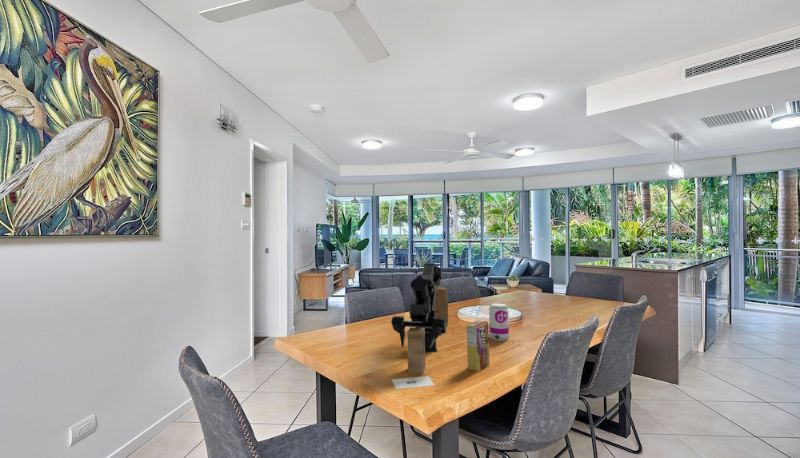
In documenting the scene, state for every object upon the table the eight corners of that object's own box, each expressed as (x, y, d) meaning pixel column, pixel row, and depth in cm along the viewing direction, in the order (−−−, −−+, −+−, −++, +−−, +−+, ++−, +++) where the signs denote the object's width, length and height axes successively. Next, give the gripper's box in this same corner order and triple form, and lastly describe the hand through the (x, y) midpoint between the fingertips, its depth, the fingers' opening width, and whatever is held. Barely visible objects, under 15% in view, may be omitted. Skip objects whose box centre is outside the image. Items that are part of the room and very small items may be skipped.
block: (449, 329, 169) (449, 288, 170) (435, 330, 168) (434, 289, 168) (441, 324, 180) (440, 285, 180) (427, 325, 178) (427, 286, 178)
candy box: (478, 362, 125) (478, 319, 125) (489, 364, 122) (489, 321, 123) (466, 369, 118) (466, 324, 119) (478, 372, 116) (477, 326, 116)
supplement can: (511, 341, 149) (510, 306, 150) (492, 341, 149) (491, 306, 150) (505, 336, 157) (505, 302, 158) (487, 336, 157) (487, 303, 158)
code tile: (428, 377, 112) (428, 376, 112) (434, 386, 105) (434, 385, 105) (391, 380, 109) (391, 379, 109) (395, 389, 103) (395, 388, 103)
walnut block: (410, 367, 120) (410, 327, 120) (425, 369, 118) (424, 328, 118) (408, 373, 115) (407, 331, 115) (423, 375, 114) (422, 332, 114)
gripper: (392, 293, 123) (384, 333, 112) (445, 295, 119) (441, 336, 108) (397, 311, 130) (390, 349, 119) (447, 313, 126) (444, 353, 115)
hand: (415, 347), depth 115 cm, fingers open, 9 cm apart
